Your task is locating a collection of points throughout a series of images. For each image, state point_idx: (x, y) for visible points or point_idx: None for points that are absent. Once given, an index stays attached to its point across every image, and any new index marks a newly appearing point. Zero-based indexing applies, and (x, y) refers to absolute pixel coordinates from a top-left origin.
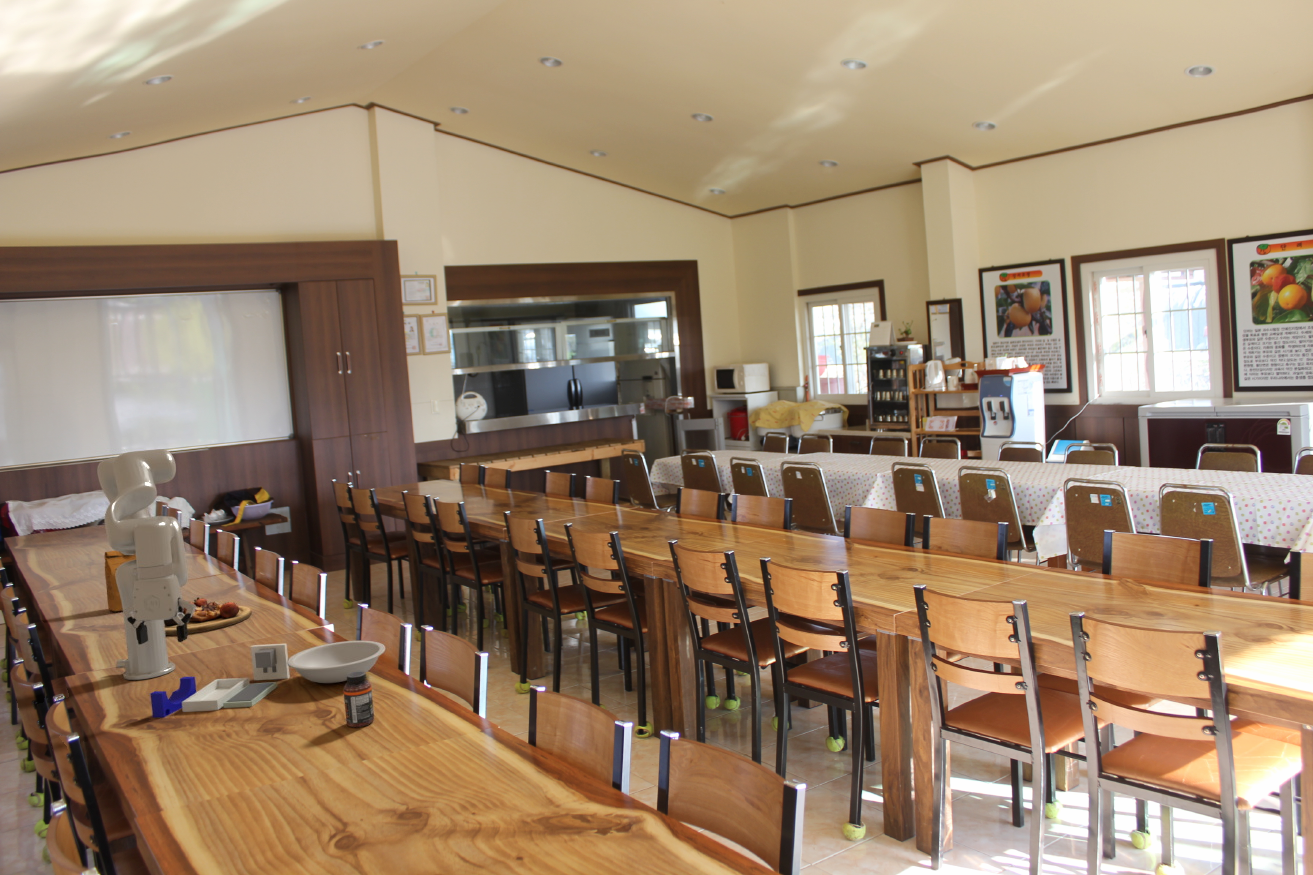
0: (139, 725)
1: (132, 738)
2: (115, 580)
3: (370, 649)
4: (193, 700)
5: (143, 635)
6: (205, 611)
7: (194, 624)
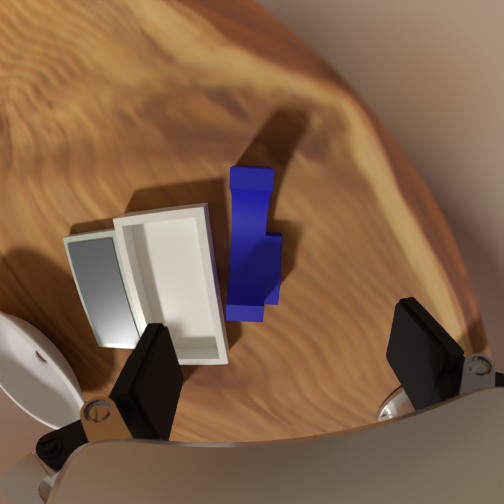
0: (267, 112)
1: (224, 38)
2: None
3: (29, 402)
4: (176, 218)
5: (409, 350)
6: None
7: None
